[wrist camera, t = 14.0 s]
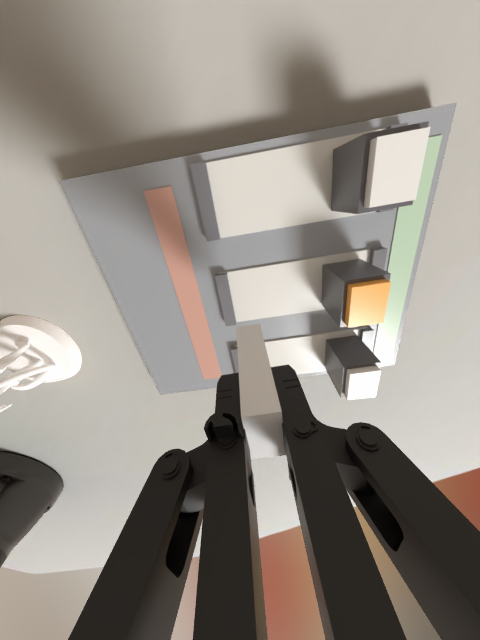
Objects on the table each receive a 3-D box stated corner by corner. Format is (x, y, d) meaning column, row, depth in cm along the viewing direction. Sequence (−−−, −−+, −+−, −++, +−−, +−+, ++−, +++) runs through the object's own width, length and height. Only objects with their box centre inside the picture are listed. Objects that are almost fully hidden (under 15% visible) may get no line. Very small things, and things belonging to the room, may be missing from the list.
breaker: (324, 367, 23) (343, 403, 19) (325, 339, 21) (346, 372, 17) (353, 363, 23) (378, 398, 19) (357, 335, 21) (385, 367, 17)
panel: (164, 383, 27) (158, 399, 24) (75, 182, 17) (51, 180, 14) (384, 354, 25) (398, 369, 23) (433, 112, 15) (467, 98, 13)
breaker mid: (321, 304, 20) (343, 331, 16) (322, 264, 18) (347, 284, 14) (355, 299, 19) (387, 325, 15) (360, 258, 18) (396, 276, 14)
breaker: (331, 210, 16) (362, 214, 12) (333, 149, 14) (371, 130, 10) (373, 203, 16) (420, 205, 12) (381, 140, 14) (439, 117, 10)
